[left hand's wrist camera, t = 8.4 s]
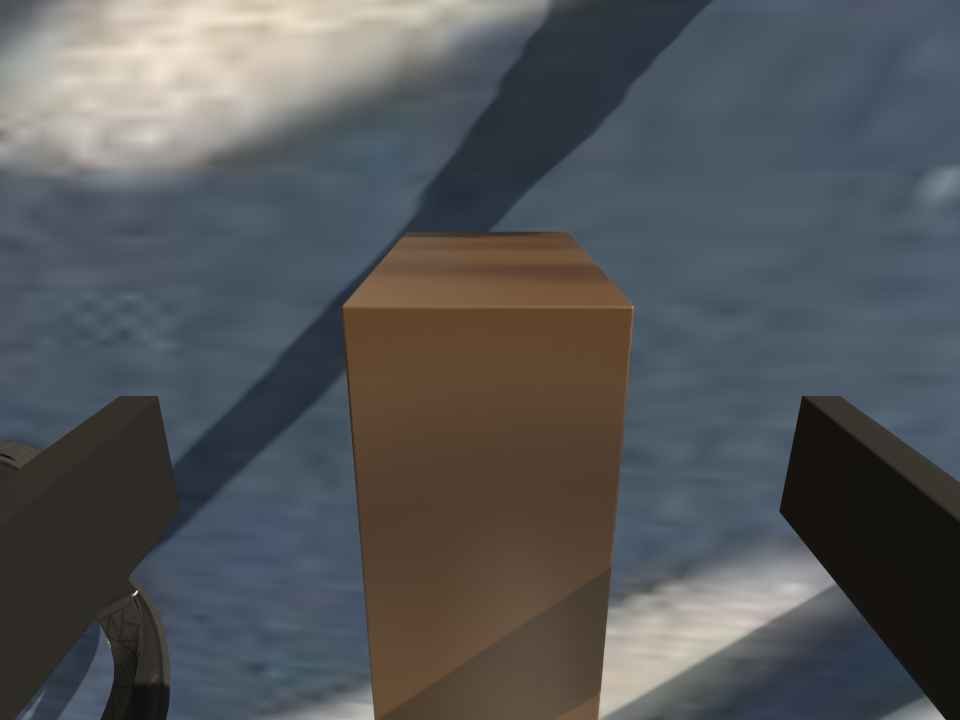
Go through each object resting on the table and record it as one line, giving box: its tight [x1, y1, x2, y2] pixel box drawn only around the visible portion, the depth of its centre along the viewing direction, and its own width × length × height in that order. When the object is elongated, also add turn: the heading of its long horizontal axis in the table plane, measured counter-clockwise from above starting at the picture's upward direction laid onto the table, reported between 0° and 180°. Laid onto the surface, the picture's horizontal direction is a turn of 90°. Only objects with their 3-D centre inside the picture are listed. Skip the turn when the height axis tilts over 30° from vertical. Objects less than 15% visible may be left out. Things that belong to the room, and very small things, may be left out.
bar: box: [342, 232, 634, 720], centre depth 19 cm, size 28×5×9 cm, turn 0°
